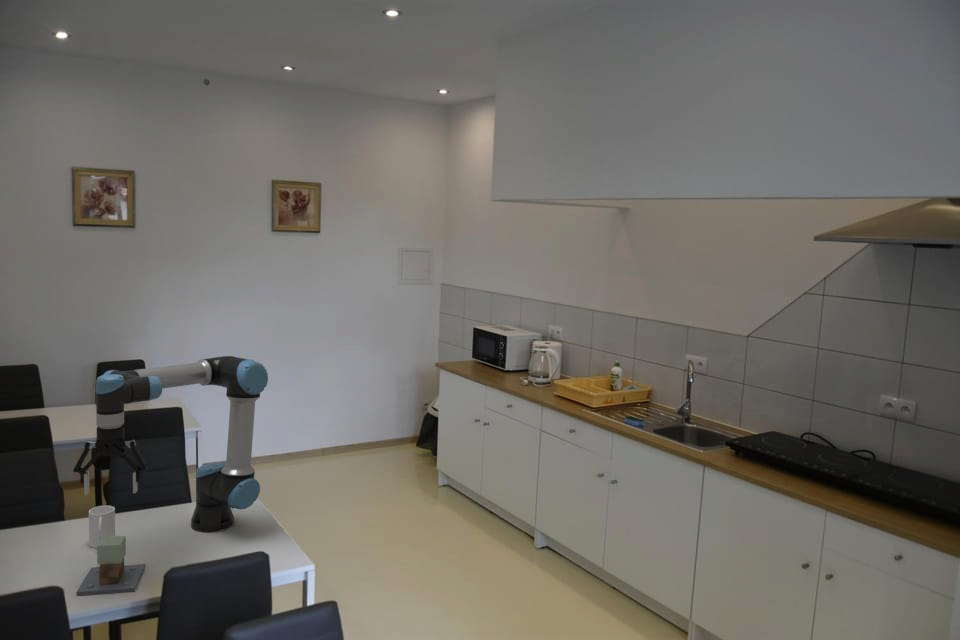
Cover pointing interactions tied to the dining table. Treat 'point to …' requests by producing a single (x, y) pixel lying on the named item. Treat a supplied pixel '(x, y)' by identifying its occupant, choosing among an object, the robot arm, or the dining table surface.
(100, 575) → the walnut brick
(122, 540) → the sage brick
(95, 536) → the mug
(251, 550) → the dining table surface
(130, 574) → the plate
